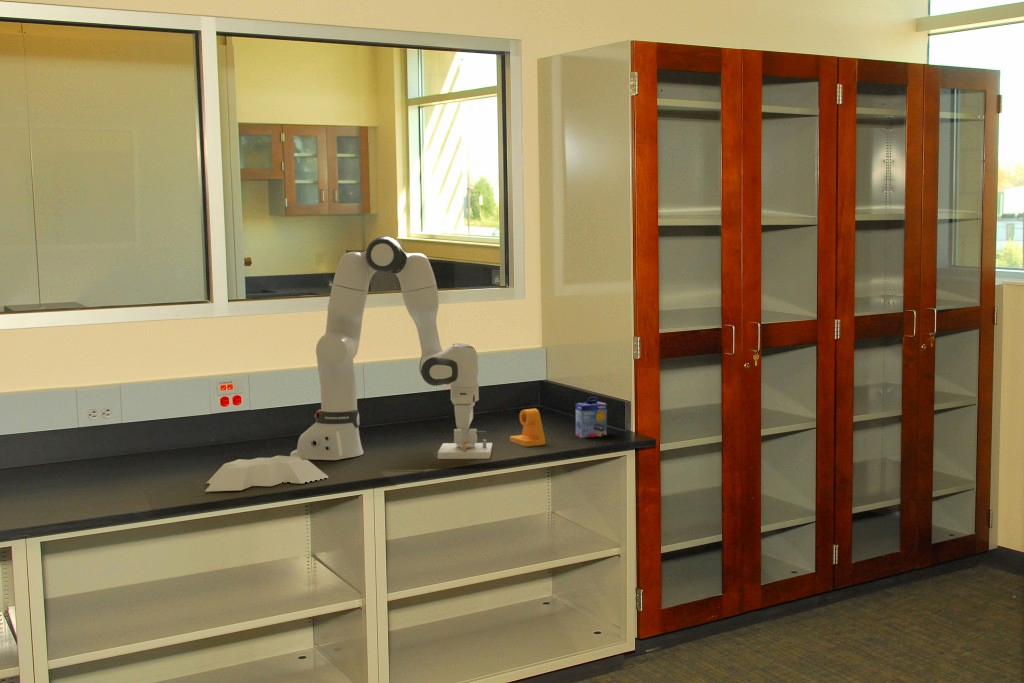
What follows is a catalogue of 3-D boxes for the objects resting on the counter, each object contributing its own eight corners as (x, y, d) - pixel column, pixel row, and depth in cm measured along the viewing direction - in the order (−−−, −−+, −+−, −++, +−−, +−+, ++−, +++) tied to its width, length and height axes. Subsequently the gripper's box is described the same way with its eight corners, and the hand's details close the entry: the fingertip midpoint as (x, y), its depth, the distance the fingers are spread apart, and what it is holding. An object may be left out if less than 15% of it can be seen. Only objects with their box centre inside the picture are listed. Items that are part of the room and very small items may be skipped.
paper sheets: (314, 467, 309) (314, 449, 309) (333, 480, 292) (332, 461, 291) (194, 480, 294) (194, 461, 294) (206, 494, 276) (206, 473, 276)
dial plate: (437, 459, 316) (437, 444, 316) (443, 449, 332) (442, 435, 332) (489, 458, 316) (489, 444, 315) (492, 449, 332) (492, 435, 331)
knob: (453, 448, 321) (453, 431, 321) (455, 445, 327) (455, 427, 327) (485, 448, 321) (485, 430, 320) (486, 444, 327) (486, 427, 326)
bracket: (508, 444, 340) (508, 408, 339) (527, 442, 344) (526, 406, 343) (526, 449, 331) (525, 412, 330) (545, 446, 335) (544, 410, 334)
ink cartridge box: (582, 441, 344) (581, 398, 342) (574, 438, 349) (574, 396, 347) (608, 438, 348) (607, 396, 346) (600, 436, 353) (599, 394, 351)
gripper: (457, 390, 333) (458, 433, 334) (451, 399, 313) (452, 444, 314) (476, 390, 333) (477, 432, 334) (472, 399, 312) (473, 444, 314)
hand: (465, 438), depth 324 cm, fingers closed on knob, 2 cm apart
